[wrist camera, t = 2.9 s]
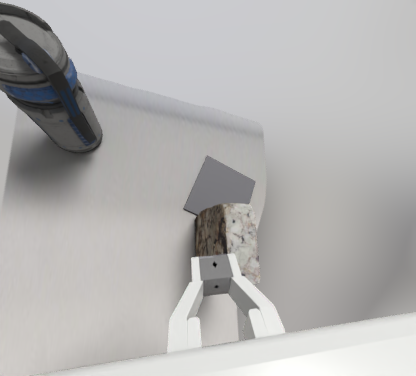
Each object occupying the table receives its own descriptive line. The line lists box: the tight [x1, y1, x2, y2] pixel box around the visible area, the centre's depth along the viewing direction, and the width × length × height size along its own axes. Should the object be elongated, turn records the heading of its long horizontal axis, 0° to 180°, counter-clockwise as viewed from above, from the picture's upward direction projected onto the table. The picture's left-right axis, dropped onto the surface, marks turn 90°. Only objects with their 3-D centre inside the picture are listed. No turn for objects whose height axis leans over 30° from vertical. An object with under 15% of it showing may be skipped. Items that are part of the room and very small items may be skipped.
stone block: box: [195, 203, 260, 285], centre depth 34 cm, size 13×7×20 cm, turn 6°
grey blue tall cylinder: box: [0, 2, 103, 152], centre depth 29 cm, size 10×13×25 cm
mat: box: [184, 156, 255, 215], centre depth 48 cm, size 18×18×1 cm
